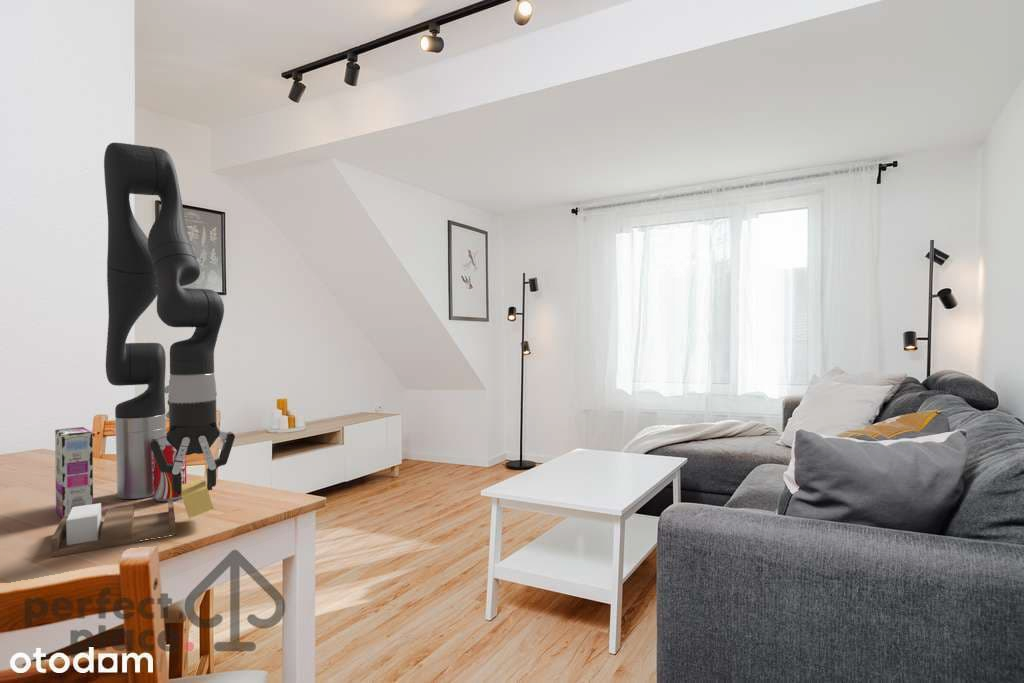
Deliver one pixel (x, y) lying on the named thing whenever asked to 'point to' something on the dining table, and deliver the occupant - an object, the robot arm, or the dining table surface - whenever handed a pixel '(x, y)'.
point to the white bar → (84, 524)
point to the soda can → (166, 476)
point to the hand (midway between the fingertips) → (194, 490)
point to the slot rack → (118, 530)
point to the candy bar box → (73, 469)
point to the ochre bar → (196, 497)
